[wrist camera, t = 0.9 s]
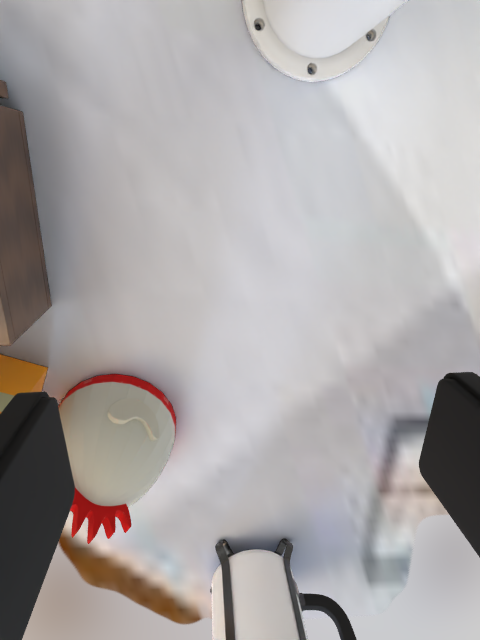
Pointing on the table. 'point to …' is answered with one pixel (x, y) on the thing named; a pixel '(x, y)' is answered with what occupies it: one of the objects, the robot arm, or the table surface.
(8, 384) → the orange juice
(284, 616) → the coffee press
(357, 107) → the table surface
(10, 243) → the cabinet
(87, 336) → the table surface
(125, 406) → the kitchen timer
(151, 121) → the table surface
